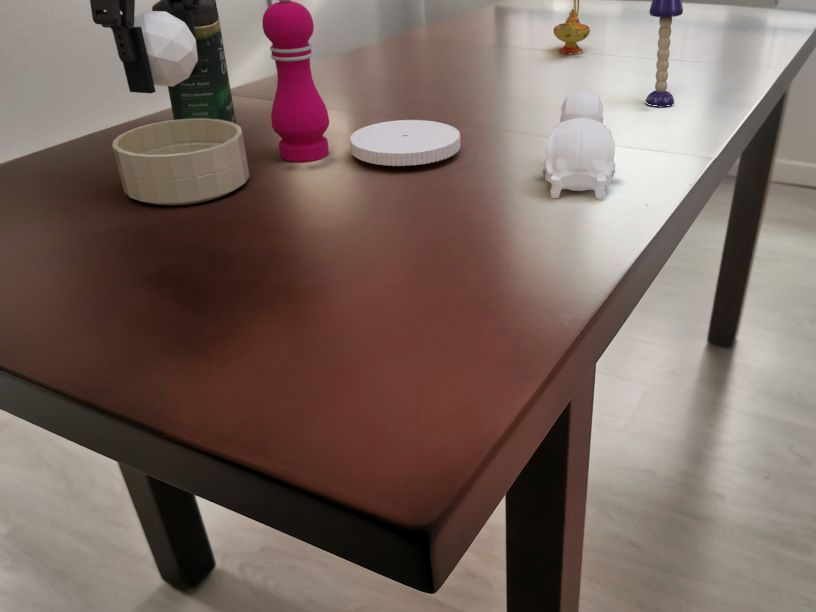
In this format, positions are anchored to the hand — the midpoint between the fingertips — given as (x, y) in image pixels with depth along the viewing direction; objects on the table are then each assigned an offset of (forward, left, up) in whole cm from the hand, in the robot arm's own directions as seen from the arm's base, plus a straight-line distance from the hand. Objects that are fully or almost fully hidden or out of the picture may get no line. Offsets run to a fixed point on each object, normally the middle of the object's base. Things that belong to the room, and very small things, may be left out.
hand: (167, 81), depth 89 cm
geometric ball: (0, 0, 0) cm, 0 cm away
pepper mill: (+8, +14, -12) cm, 20 cm away
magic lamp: (+29, +80, -12) cm, 86 cm away
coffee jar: (-9, +18, -12) cm, 24 cm away
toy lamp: (+49, +49, -12) cm, 70 cm away
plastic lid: (+21, +17, -12) cm, 30 cm away
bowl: (0, 0, -12) cm, 12 cm away
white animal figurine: (+44, +14, -12) cm, 48 cm away
